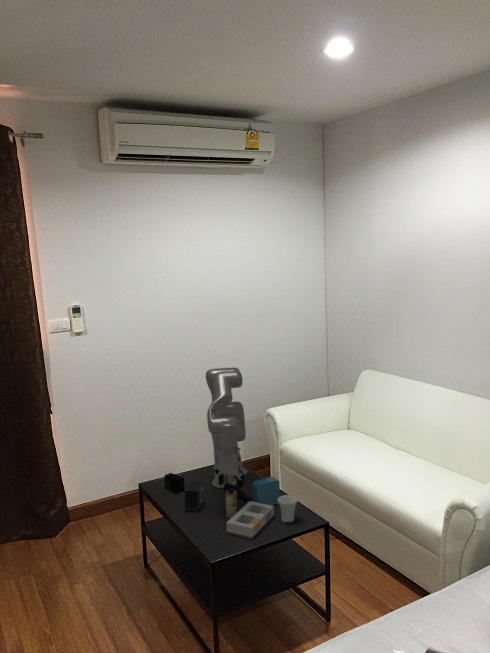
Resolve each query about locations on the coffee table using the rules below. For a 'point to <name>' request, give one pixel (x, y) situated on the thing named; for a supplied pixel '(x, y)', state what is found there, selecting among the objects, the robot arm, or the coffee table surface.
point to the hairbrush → (239, 492)
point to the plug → (231, 502)
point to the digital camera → (174, 483)
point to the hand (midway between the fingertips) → (230, 485)
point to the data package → (266, 491)
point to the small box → (194, 496)
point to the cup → (287, 507)
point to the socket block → (250, 520)
